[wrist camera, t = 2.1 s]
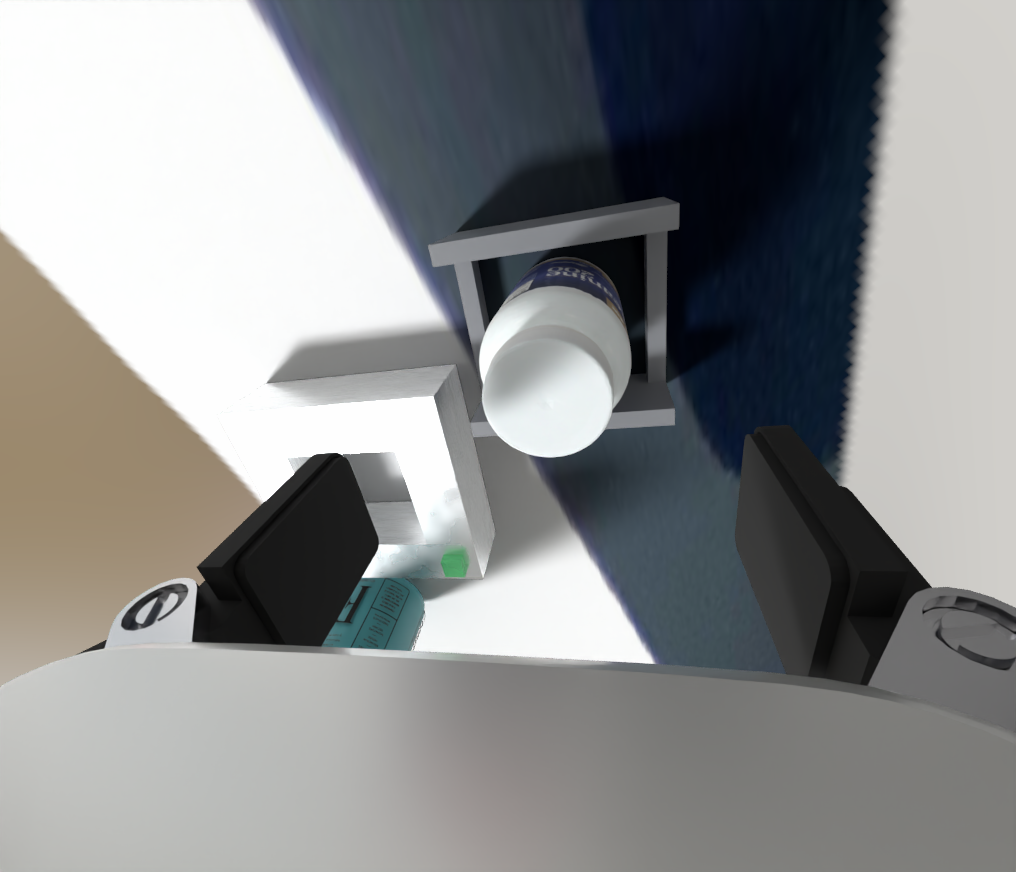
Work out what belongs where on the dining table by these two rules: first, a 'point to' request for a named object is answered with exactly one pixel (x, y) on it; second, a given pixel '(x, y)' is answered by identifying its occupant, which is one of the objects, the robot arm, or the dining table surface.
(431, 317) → the dining table surface
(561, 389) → the pill bottle
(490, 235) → the grey open frame
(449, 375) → the port
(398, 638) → the beverage bottle
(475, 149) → the dining table surface
